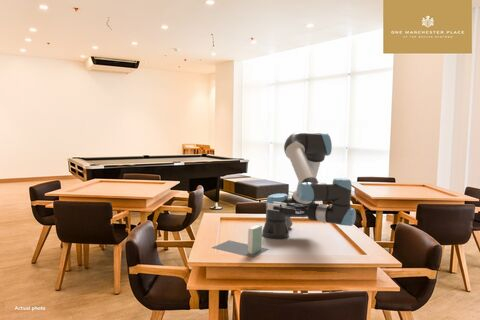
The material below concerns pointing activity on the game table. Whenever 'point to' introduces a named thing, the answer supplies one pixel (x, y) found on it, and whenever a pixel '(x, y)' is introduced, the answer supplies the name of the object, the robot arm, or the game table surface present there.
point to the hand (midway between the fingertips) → (270, 205)
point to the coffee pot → (288, 220)
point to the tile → (254, 239)
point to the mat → (238, 248)
